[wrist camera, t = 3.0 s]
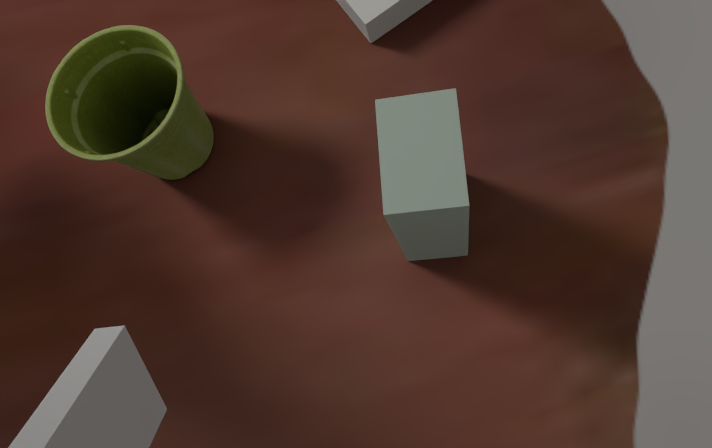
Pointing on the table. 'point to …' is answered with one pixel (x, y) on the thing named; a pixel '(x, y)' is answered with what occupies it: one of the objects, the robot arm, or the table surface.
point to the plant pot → (128, 104)
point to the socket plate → (380, 14)
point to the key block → (424, 174)
